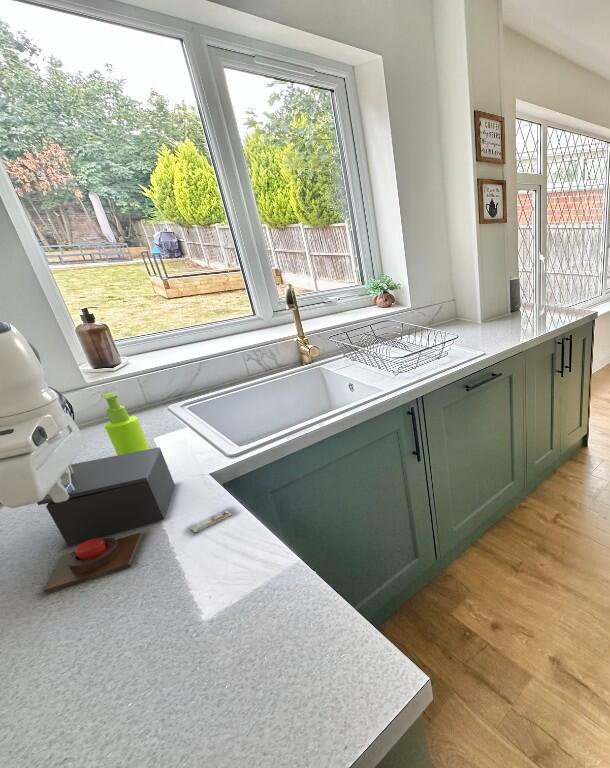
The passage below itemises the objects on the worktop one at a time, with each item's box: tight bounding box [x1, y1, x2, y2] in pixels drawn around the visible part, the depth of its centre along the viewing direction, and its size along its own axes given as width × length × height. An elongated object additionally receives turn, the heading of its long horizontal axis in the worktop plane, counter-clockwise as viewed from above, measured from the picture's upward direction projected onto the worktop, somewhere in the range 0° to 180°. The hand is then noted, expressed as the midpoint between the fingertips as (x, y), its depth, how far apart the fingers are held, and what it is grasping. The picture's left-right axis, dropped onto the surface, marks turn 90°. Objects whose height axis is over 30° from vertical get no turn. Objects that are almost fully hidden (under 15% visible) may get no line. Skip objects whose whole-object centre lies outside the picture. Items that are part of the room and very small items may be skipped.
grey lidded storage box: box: [45, 450, 176, 548], centre depth 85 cm, size 15×14×10 cm
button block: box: [43, 532, 143, 595], centre depth 74 cm, size 11×9×3 cm
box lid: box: [36, 446, 162, 506], centre depth 82 cm, size 15×14×5 cm
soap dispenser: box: [100, 391, 151, 456], centre depth 100 cm, size 6×7×20 cm
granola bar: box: [189, 510, 232, 533], centre depth 84 cm, size 7×2×1 cm, turn 142°
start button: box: [74, 537, 106, 560], centre depth 73 cm, size 4×4×2 cm
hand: (65, 497), depth 69 cm, fingers closed
